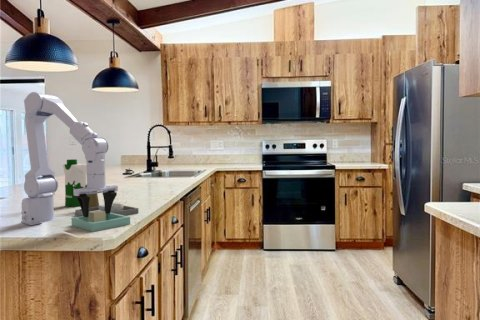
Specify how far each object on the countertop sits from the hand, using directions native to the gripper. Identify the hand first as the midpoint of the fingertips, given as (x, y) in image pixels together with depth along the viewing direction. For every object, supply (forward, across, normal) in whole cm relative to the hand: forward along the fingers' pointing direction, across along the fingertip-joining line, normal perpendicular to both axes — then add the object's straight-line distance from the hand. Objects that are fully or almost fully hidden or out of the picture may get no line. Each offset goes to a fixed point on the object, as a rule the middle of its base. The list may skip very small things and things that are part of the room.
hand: (96, 215), depth 126 cm
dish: (+3, 0, -2) cm, 4 cm away
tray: (+3, +11, +12) cm, 17 cm away
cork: (+4, +12, +26) cm, 28 cm away
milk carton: (+4, +15, +44) cm, 46 cm away
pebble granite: (+3, +16, +12) cm, 20 cm away
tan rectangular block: (+3, 0, 0) cm, 3 cm away
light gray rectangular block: (+3, +8, +8) cm, 12 cm away
